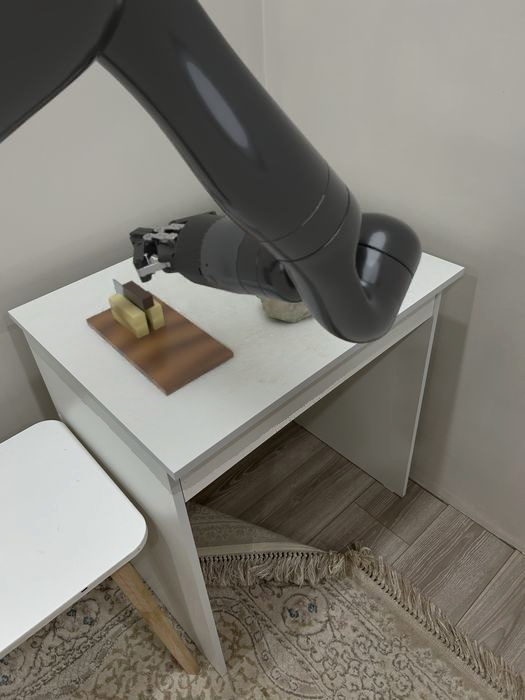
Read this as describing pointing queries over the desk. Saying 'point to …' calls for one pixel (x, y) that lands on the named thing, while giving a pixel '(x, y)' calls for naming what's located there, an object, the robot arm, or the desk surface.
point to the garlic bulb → (284, 310)
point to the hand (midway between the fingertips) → (136, 237)
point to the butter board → (159, 342)
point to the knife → (134, 294)
